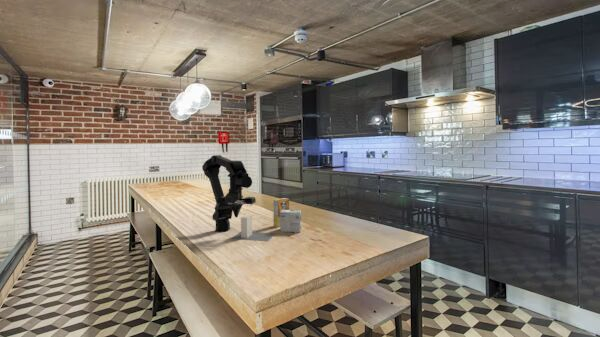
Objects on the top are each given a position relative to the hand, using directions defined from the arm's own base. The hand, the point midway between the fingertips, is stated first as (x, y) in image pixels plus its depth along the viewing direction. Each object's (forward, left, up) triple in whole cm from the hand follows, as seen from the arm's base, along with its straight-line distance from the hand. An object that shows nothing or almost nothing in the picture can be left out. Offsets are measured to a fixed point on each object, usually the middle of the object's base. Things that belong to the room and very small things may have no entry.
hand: (236, 217), depth 163 cm
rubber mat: (+9, 0, -10) cm, 13 cm away
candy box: (+17, +24, -10) cm, 31 cm away
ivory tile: (+5, 0, -9) cm, 11 cm away
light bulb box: (+24, +15, -10) cm, 30 cm away
